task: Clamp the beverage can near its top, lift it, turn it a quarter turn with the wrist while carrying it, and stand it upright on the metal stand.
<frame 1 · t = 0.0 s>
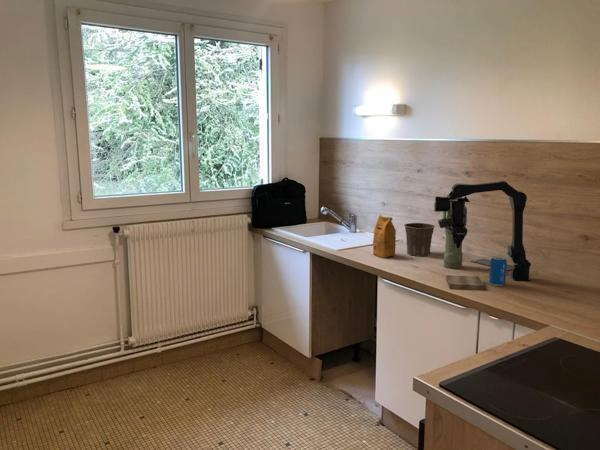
hand: (456, 245, 227), 15 cm above the worktop, tool pointing down, fingers open, 9 cm apart
coffee package: (383, 255, 273), on the worktop
plant pot: (418, 254, 275), on the worktop
beverage can: (497, 285, 217), on the worktop
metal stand: (464, 284, 217), on the worktop
thermos: (452, 267, 248), on the worktop
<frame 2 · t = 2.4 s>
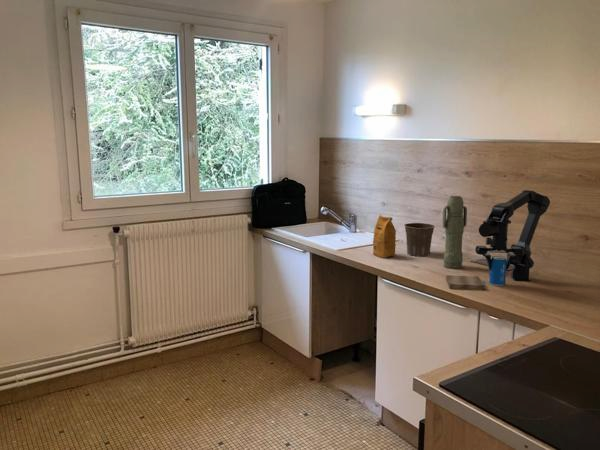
hand: (498, 269, 216), 7 cm above the worktop, tool pointing down, fingers closed on beverage can, 6 cm apart
beverage can: (497, 284, 217), on the worktop, touching gripper
everything else where it was.
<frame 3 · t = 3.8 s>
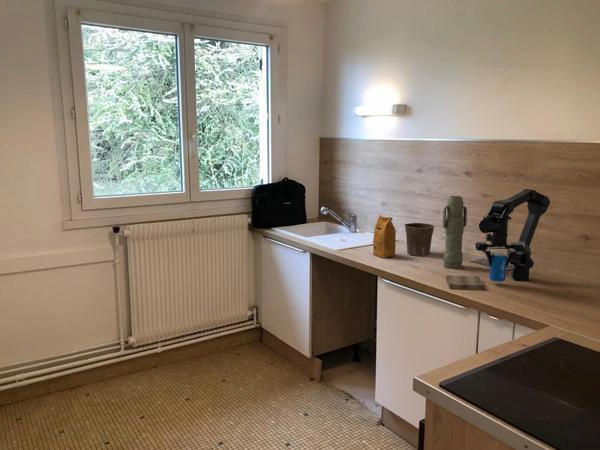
hand: (498, 266, 216), 8 cm above the worktop, tool pointing down, fingers closed on beverage can, 6 cm apart
beverage can: (497, 281, 217), point 1 cm above the worktop, touching gripper
everything else where it was.
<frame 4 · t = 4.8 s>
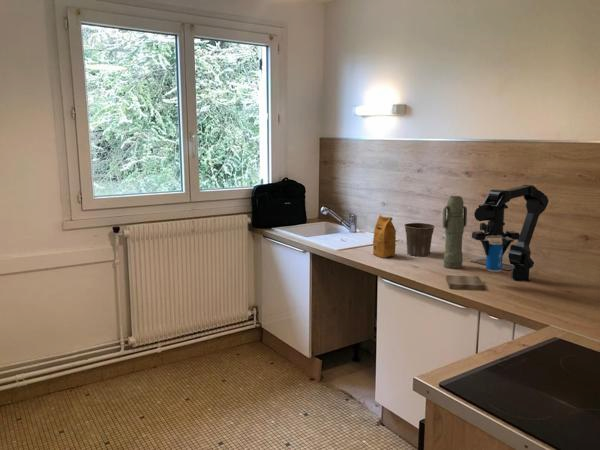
hand: (494, 255, 215), 13 cm above the worktop, tool pointing down, fingers closed on beverage can, 6 cm apart
beverage can: (493, 270, 216), point 6 cm above the worktop, touching gripper
everything else where it was.
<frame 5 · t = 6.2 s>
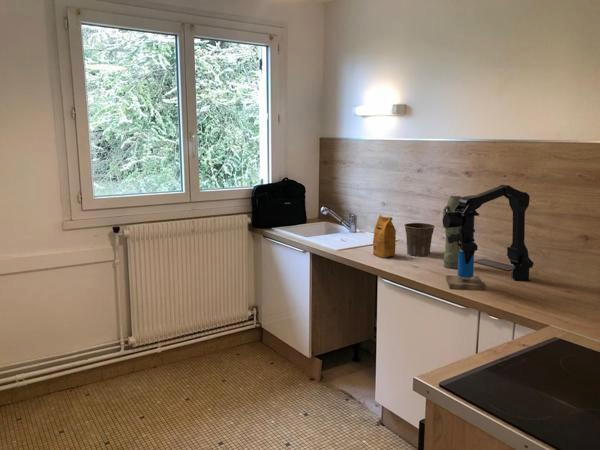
hand: (465, 261, 216), 10 cm above the worktop, tool pointing down, fingers closed on beverage can, 6 cm apart
beverage can: (465, 277, 217), point 3 cm above the worktop, touching gripper
everything else where it was.
when the fingers open (10 cm above the worktop, at t = 7.1 s): beverage can drops 1 cm, resting on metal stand.
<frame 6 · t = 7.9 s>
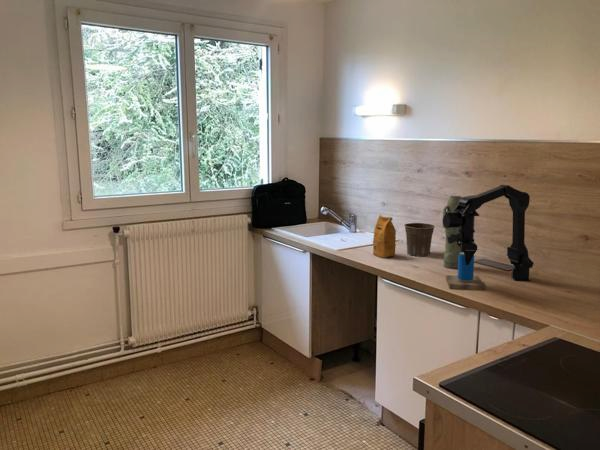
hand: (465, 262, 216), 10 cm above the worktop, tool pointing down, fingers open, 9 cm apart
beverage can: (465, 280, 217), point 2 cm above the worktop, touching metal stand
everything else where it was.
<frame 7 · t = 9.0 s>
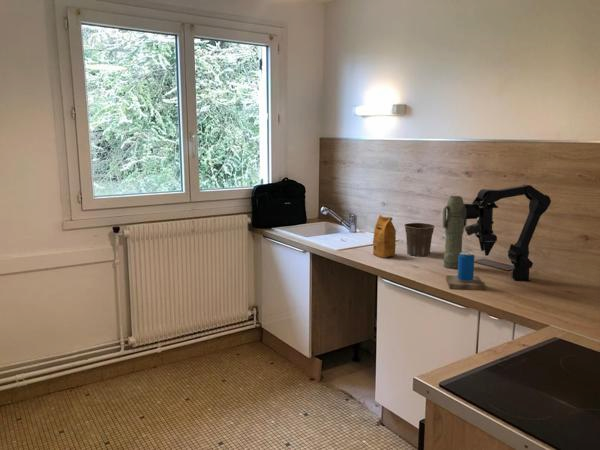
hand: (484, 253, 220), 13 cm above the worktop, tool pointing down, fingers open, 9 cm apart
nothing on the worktop moved.
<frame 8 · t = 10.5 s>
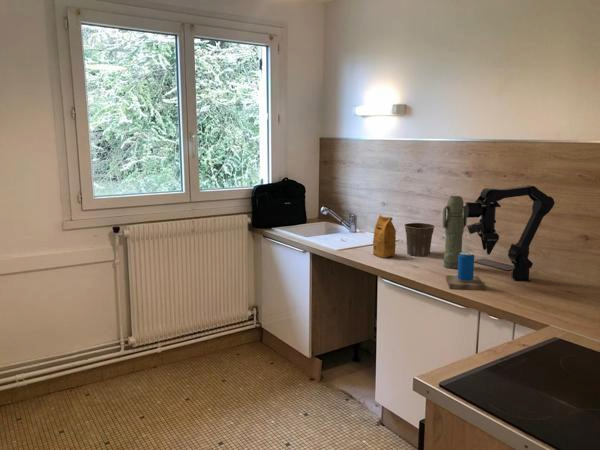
hand: (486, 252, 221), 13 cm above the worktop, tool pointing down, fingers open, 9 cm apart
nothing on the worktop moved.
at the end: beverage can inside the target area on the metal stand (0.3 cm from its centre), point 1.8 cm above the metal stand's base; beverage can tilted 0°; the gripper is holding nothing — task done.
